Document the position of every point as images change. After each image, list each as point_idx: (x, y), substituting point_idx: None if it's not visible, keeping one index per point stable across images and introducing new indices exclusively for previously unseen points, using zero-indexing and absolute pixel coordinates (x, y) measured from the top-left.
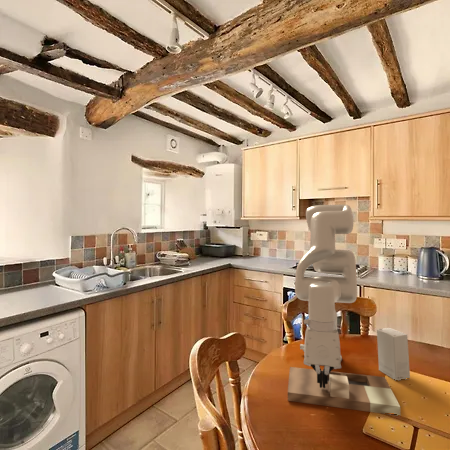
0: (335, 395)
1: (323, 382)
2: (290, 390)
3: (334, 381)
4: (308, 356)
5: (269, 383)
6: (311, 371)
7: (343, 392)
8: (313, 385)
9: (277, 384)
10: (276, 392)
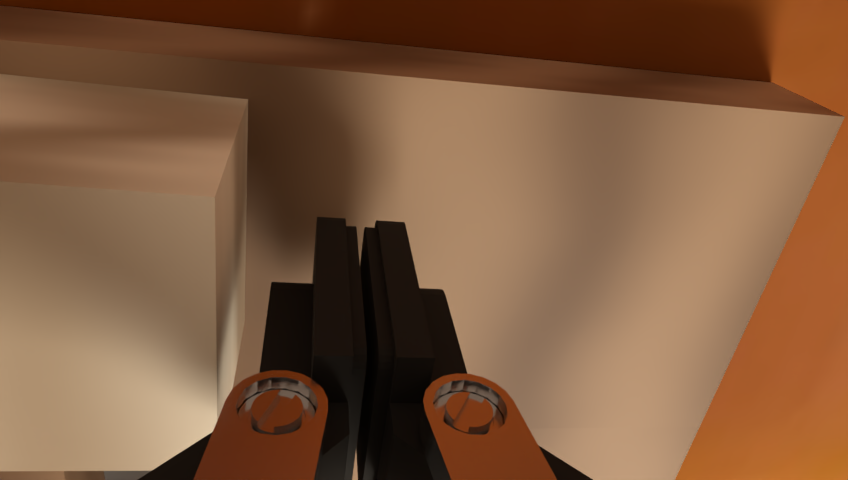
0: (163, 97)
1: (348, 266)
2: (790, 162)
3: (120, 251)
4: None
5: (842, 350)
6: None
7: None
8: (454, 321)
9: (771, 349)
10: (835, 218)
